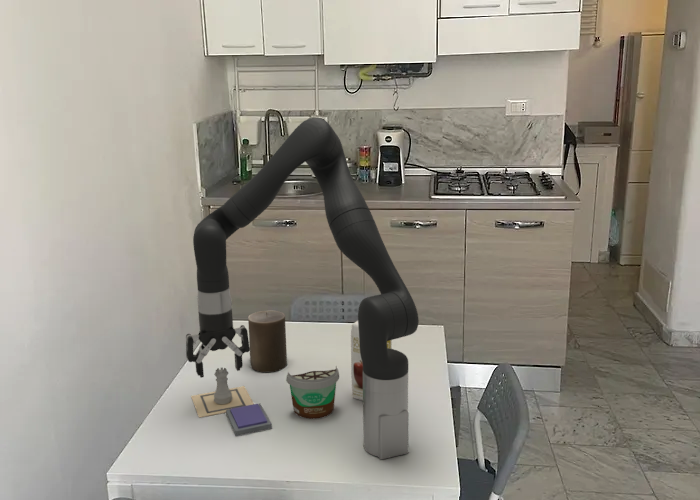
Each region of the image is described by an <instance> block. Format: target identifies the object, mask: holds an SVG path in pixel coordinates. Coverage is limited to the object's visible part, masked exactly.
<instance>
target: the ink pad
mask: <svg viewBox="0 0 700 500" xmlns="http://www.w3.org/2000/svg"><path fill="white" fill-rule="evenodd" d="M225 416H226V417H227V420H228V422H229V424H230V427H231V428H232V430H233V432H234V435H235V437H239V436H244V435H248V434H252V433H254V434H255V433H258V432H261V431H267V430H271V429H273V424H272V421H271V420H270V418H269V416H268V414H267V413H266V411H265V409H264V408H263V406H262V404H261V403H254V404H253V405H248V406H243V407H237V408H232V409H229V410H226V413H225Z"/></svg>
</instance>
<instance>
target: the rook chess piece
mask: <svg viewBox="0 0 700 500" xmlns="http://www.w3.org/2000/svg"><path fill="white" fill-rule="evenodd" d="M228 375H229V371H228V369H227V367H220V368H216V369H215V372H214V376H215V377H216V378H215V381H216V390H215V391H214V392H215V394H214V401H215V403H217V404H220V405H222V404H228V403H230V402H231V400H232V399H233V397H232V393H231V391H230V389H231V388H229V385H228V384H229V383H228Z"/></svg>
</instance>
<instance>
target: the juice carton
mask: <svg viewBox="0 0 700 500" xmlns="http://www.w3.org/2000/svg"><path fill="white" fill-rule="evenodd" d="M392 341H393V340H389V341H387V348H389V349H393V348H392V346H393V344H392V343H393V342H392ZM350 363H351V364H350V365H351V366H350V367H351V368H350V369H351V371H350V372H351V373H350V375H351V389H352V390H351V391H352V398H354V399H356V400H360V401H363V364H362V359H361V354H360V341H359V327H358V320H356V321H355V322H353V323H352V324H351V330H350Z"/></svg>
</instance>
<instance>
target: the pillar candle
mask: <svg viewBox="0 0 700 500" xmlns="http://www.w3.org/2000/svg"><path fill="white" fill-rule="evenodd" d="M247 317H248V319H247V320H248V340H249V348H250V351H249V361H250V362H249V363H250V367H251V369H253V370H254V371H257V372H261V373H272V372H279V371H281V370H283V369H285V368H286V367H287V365H288V359H287V355H288V353H287V335H286V334H287V333H286V315H285V313H284V312H281V311H278V310H268V309H267V310H261V311H260V310H259V311H256V312H253V313H251V314H249V315H248V316H247Z"/></svg>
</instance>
